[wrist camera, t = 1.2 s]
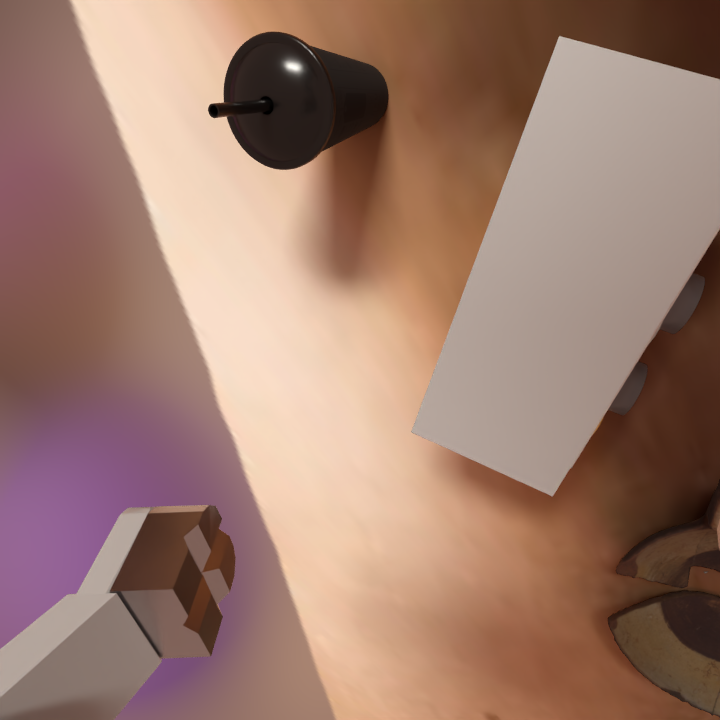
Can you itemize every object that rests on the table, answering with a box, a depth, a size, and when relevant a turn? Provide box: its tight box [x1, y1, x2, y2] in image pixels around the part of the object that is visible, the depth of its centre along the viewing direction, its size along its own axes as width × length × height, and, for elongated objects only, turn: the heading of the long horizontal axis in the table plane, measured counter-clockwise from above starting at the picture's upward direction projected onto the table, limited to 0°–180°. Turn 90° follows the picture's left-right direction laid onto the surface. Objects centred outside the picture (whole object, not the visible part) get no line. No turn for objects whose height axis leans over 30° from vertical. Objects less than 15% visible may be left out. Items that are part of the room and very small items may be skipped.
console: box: [411, 36, 720, 496], centre depth 36 cm, size 11×24×16 cm, turn 166°
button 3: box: [608, 362, 647, 415], centre depth 39 cm, size 3×4×4 cm
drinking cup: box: [208, 32, 388, 170], centre depth 36 cm, size 8×8×20 cm
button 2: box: [660, 273, 705, 334], centre depth 35 cm, size 3×4×4 cm
